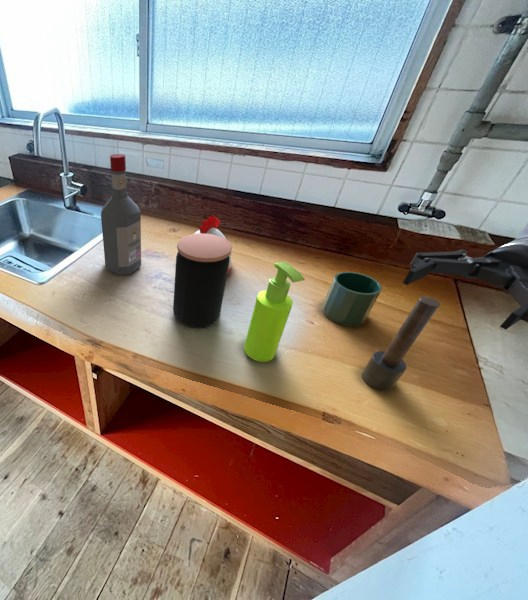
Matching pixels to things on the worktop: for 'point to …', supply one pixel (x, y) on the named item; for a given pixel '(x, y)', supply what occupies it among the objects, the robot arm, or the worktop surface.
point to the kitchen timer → (212, 230)
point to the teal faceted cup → (350, 298)
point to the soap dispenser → (271, 314)
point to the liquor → (121, 224)
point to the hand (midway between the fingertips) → (453, 297)
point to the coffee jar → (200, 278)
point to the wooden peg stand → (398, 347)
